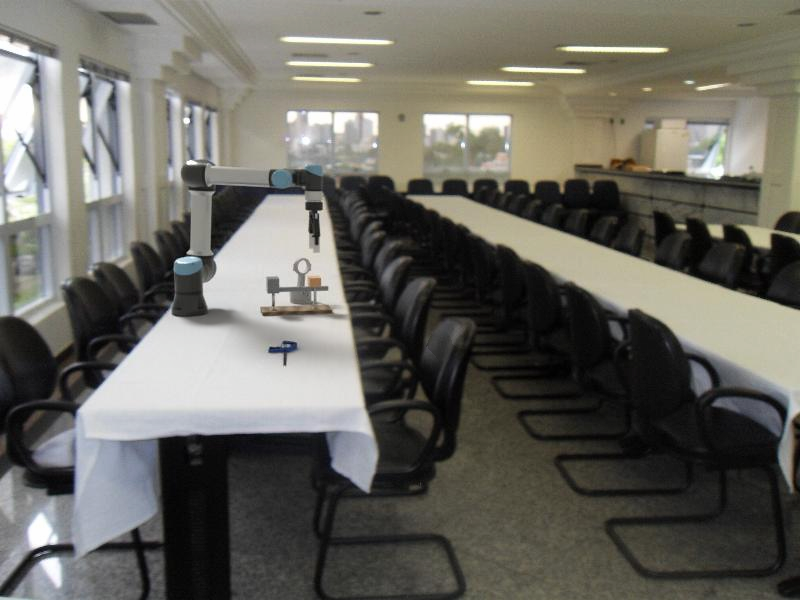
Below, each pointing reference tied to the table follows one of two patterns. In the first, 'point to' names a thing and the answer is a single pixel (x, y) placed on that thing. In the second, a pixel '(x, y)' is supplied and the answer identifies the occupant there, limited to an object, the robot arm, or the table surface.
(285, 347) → the bar clamp
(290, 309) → the hole plate
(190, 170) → the robot arm
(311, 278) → the block
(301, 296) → the engine component
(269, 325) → the table surface
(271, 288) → the grey piece
